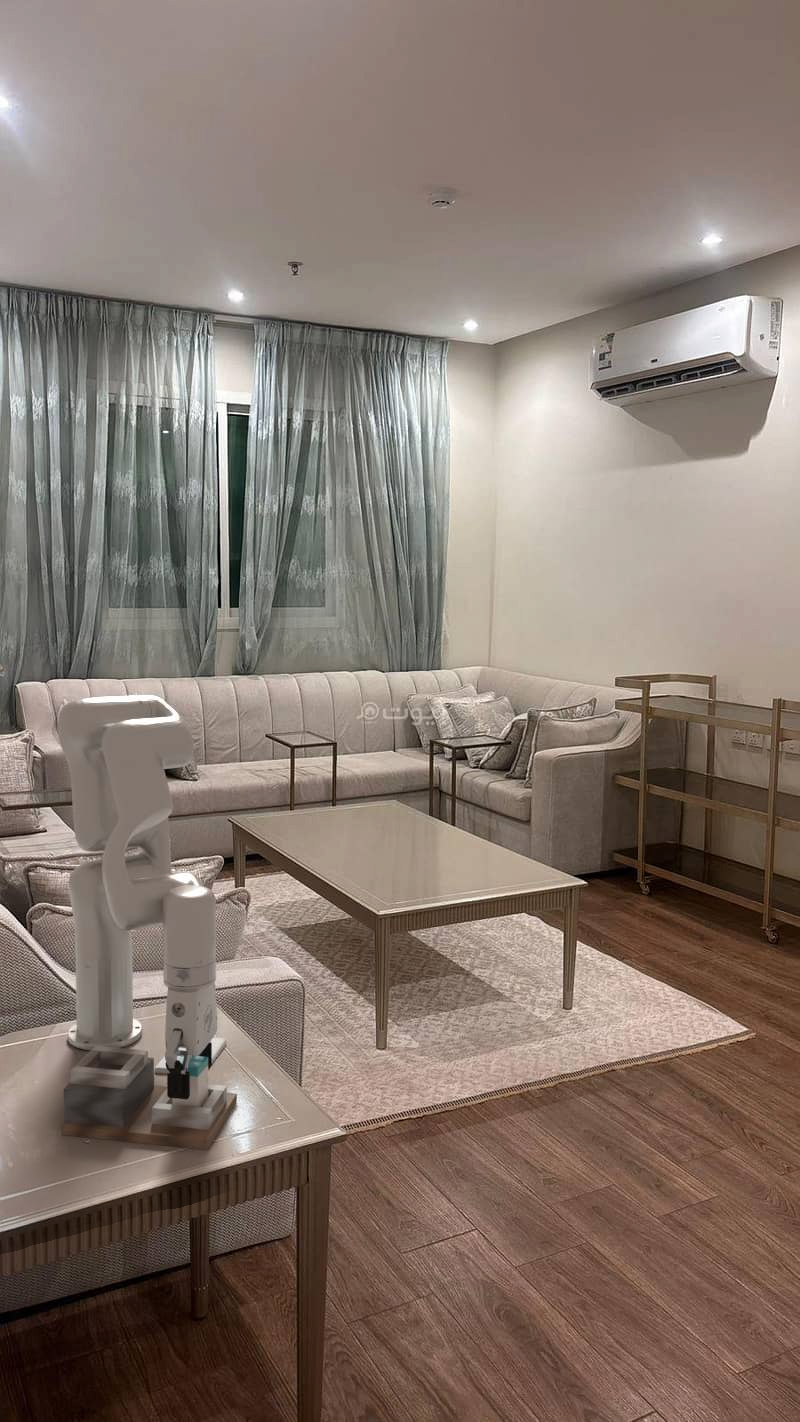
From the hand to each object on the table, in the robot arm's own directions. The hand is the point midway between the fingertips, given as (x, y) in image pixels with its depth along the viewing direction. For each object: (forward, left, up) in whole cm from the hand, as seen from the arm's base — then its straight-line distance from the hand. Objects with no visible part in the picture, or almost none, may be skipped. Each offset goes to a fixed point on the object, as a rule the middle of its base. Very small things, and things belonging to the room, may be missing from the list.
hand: (190, 1081), depth 161 cm
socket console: (-5, -4, -6) cm, 9 cm away
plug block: (0, 0, -5) cm, 5 cm away
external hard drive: (-18, +11, -7) cm, 23 cm away
